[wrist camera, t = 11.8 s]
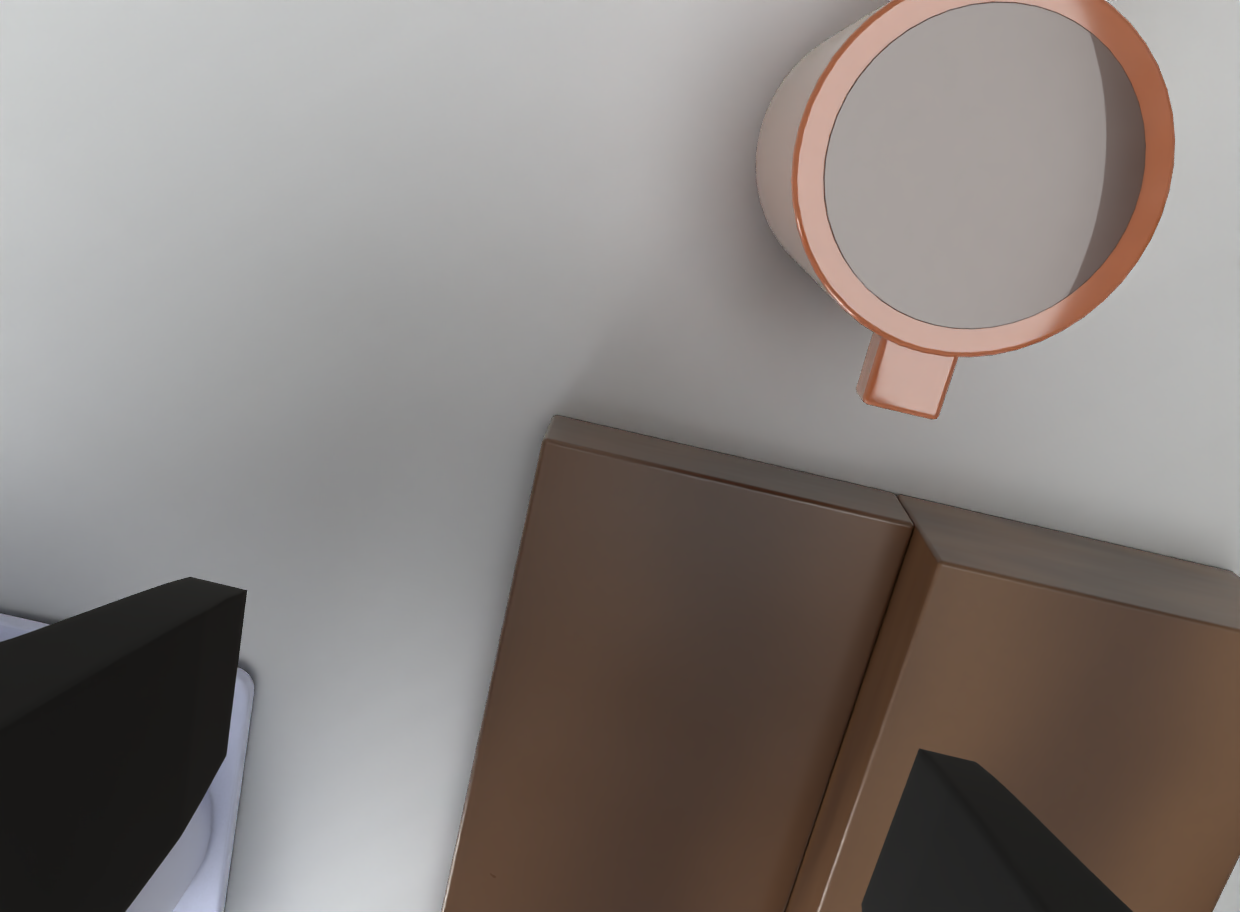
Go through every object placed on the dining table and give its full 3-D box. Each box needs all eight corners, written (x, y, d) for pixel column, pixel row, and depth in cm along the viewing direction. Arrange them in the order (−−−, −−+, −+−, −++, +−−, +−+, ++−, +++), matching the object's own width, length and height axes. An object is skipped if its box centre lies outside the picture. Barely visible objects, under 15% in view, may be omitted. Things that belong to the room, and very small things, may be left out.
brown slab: (418, 1033, 25) (381, 1169, 22) (552, 412, 21) (530, 466, 17) (976, 1154, 26) (1022, 1307, 22) (1233, 570, 21) (1341, 653, 18)
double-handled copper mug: (714, 307, 20) (732, 377, 14) (821, -114, 18) (895, -234, 12) (958, 364, 20) (1074, 457, 14) (1094, -47, 18) (1297, -134, 12)
